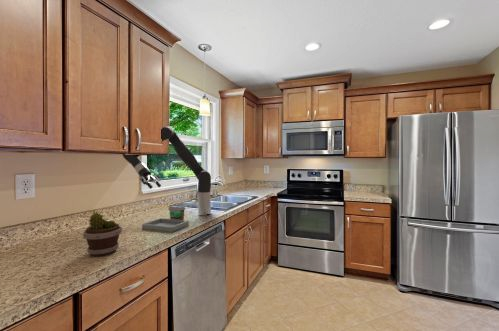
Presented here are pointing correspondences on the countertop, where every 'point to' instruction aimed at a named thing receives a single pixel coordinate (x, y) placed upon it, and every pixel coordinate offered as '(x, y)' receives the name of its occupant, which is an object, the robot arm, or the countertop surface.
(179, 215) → the food container
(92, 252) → the flowerpot
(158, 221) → the tray
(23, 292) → the countertop surface
